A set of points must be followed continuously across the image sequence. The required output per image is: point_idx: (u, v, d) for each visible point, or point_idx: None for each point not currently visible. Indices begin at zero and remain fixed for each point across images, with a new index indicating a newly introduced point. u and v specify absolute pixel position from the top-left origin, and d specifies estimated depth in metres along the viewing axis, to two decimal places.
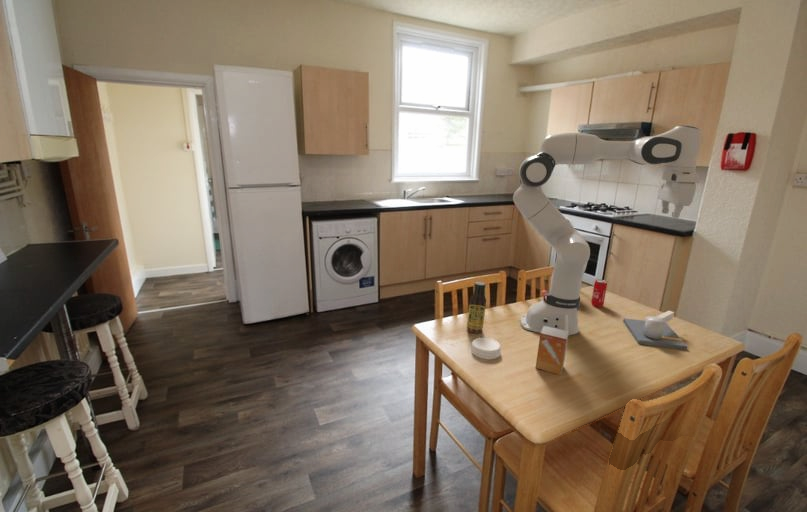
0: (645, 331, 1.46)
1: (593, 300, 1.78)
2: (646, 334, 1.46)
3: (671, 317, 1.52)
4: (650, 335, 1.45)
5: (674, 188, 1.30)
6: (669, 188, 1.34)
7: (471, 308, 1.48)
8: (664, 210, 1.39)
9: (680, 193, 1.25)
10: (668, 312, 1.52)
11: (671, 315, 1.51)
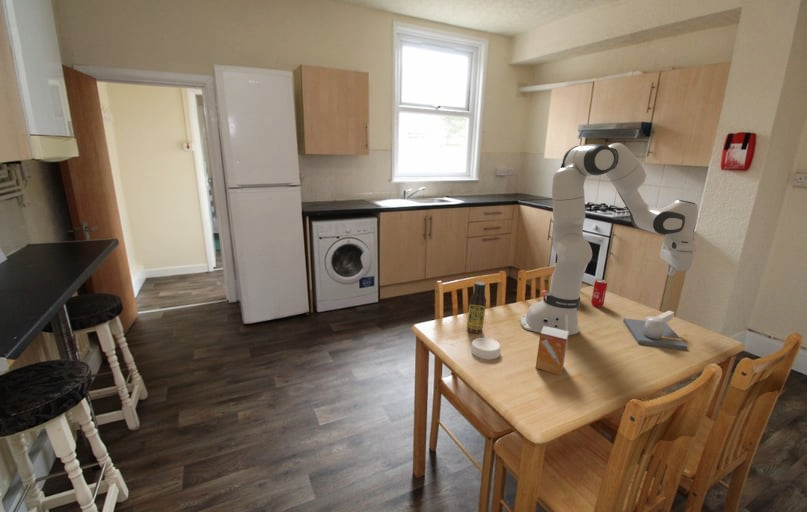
0: (645, 331, 1.46)
1: (593, 300, 1.78)
2: (646, 334, 1.46)
3: (671, 317, 1.52)
4: (650, 335, 1.45)
5: (674, 253, 1.49)
6: (670, 252, 1.53)
7: (471, 308, 1.48)
8: None
9: (679, 260, 1.43)
10: (668, 312, 1.52)
11: (671, 315, 1.51)
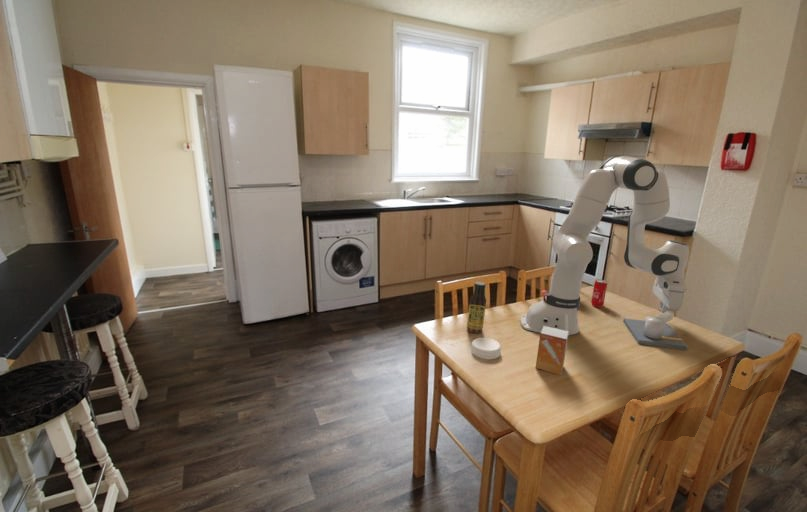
0: (645, 331, 1.46)
1: (593, 300, 1.78)
2: (646, 334, 1.46)
3: (671, 317, 1.52)
4: (650, 335, 1.45)
5: (666, 292, 1.53)
6: (662, 289, 1.57)
7: (471, 308, 1.48)
8: None
9: (671, 300, 1.48)
10: (668, 312, 1.52)
11: (671, 315, 1.51)
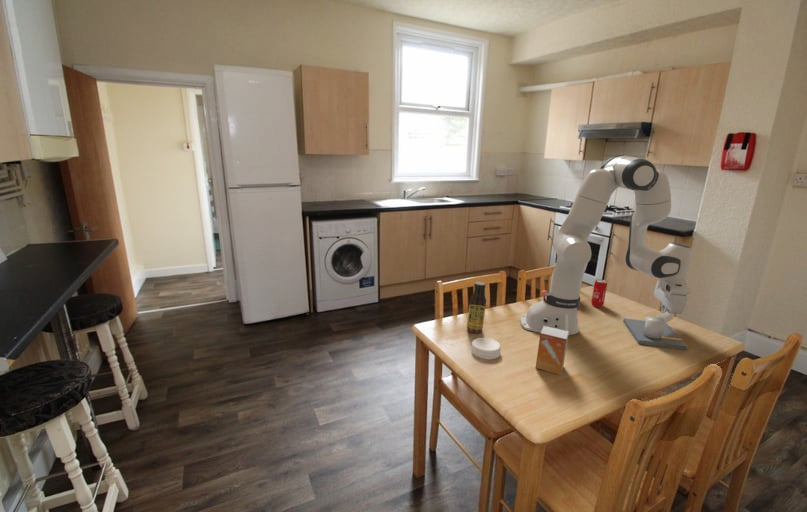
0: (645, 331, 1.46)
1: (593, 300, 1.78)
2: (646, 334, 1.46)
3: (671, 317, 1.52)
4: (650, 335, 1.45)
5: (668, 295, 1.51)
6: (664, 292, 1.55)
7: (471, 308, 1.48)
8: (664, 312, 1.56)
9: (673, 303, 1.45)
10: (668, 312, 1.52)
11: (671, 315, 1.51)
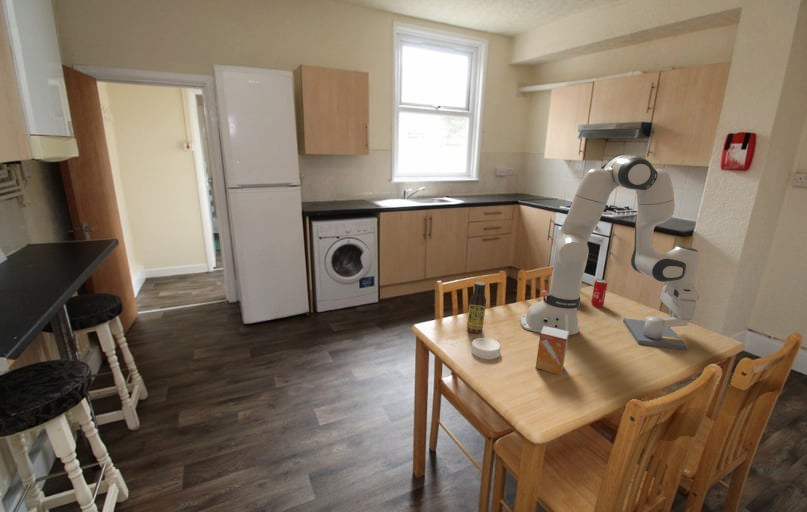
0: (644, 330, 1.48)
1: (593, 300, 1.78)
2: (644, 332, 1.47)
3: (684, 323, 1.47)
4: (646, 334, 1.46)
5: (676, 300, 1.45)
6: (671, 297, 1.49)
7: (471, 308, 1.48)
8: None
9: (682, 310, 1.39)
10: None
11: (684, 320, 1.47)
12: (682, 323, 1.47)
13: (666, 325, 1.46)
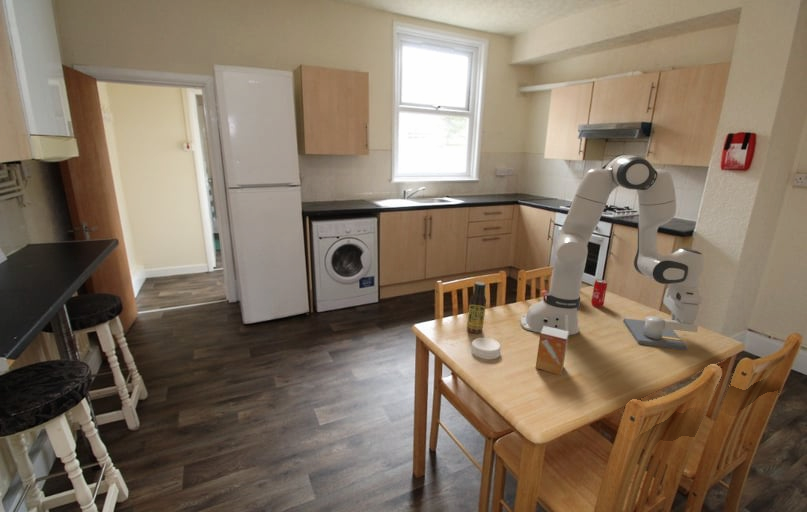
0: (644, 328, 1.48)
1: (593, 300, 1.78)
2: (643, 331, 1.48)
3: (692, 328, 1.42)
4: (644, 332, 1.47)
5: (679, 304, 1.42)
6: (674, 301, 1.46)
7: (471, 308, 1.48)
8: None
9: (684, 313, 1.36)
10: None
11: (691, 326, 1.42)
12: (689, 328, 1.43)
13: (668, 327, 1.44)
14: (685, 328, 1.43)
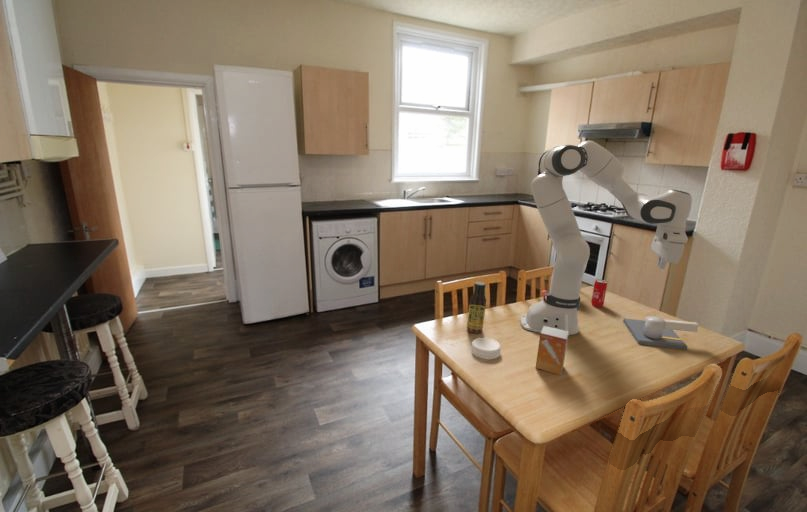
0: (644, 328, 1.48)
1: (593, 300, 1.78)
2: (643, 331, 1.48)
3: (692, 328, 1.42)
4: (644, 332, 1.47)
5: (665, 245, 1.44)
6: (661, 243, 1.48)
7: (471, 308, 1.48)
8: None
9: (670, 252, 1.39)
10: (690, 322, 1.43)
11: (691, 326, 1.42)
12: (689, 328, 1.42)
13: (668, 327, 1.44)
14: (685, 328, 1.43)
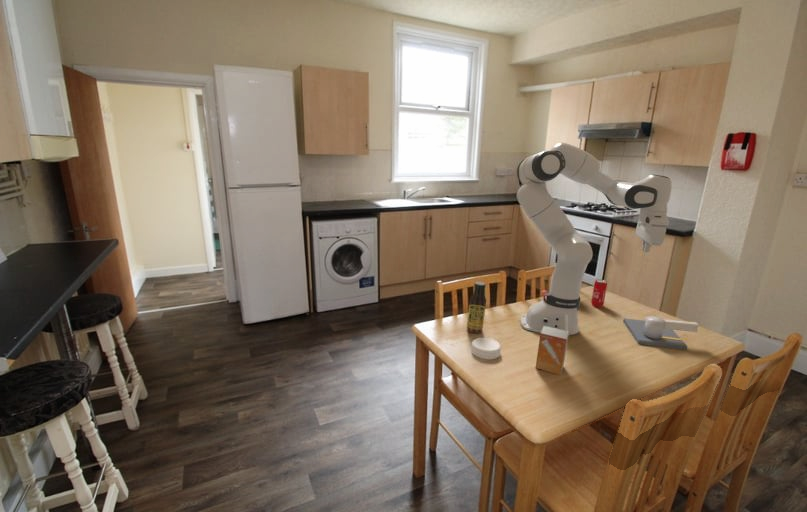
0: (644, 328, 1.48)
1: (593, 300, 1.78)
2: (643, 331, 1.48)
3: (692, 328, 1.42)
4: (644, 332, 1.47)
5: (648, 229, 1.48)
6: (644, 228, 1.52)
7: (471, 308, 1.48)
8: None
9: (652, 235, 1.43)
10: (690, 322, 1.43)
11: (691, 326, 1.42)
12: (689, 328, 1.42)
13: (668, 327, 1.44)
14: (685, 328, 1.43)
